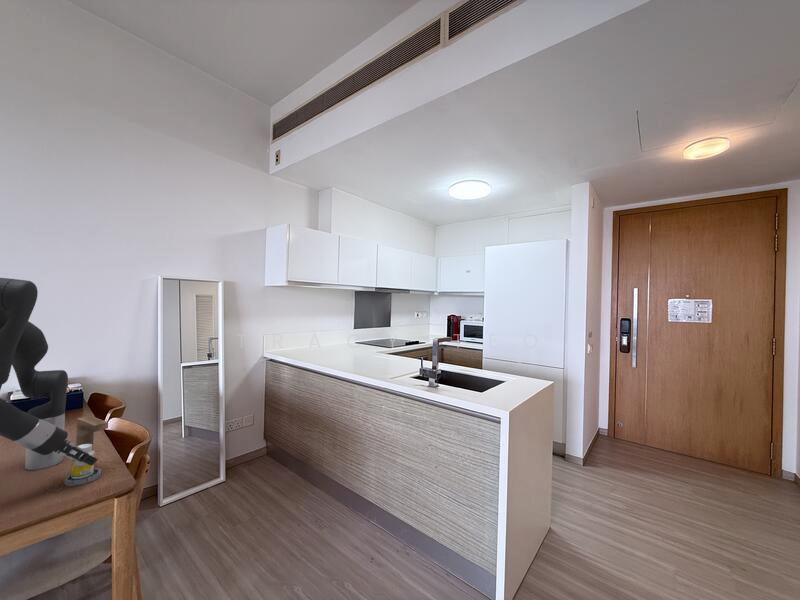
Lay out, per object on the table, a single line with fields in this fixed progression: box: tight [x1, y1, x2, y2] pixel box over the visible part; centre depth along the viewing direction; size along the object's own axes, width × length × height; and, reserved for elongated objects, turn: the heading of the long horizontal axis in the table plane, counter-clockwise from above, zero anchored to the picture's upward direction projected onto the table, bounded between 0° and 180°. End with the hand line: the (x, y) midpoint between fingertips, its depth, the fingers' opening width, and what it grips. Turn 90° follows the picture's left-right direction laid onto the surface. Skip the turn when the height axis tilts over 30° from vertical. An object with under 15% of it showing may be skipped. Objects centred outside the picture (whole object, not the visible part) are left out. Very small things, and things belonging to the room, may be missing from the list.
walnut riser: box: [75, 415, 109, 451], centre depth 111 cm, size 4×13×18 cm, turn 63°
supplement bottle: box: [70, 444, 96, 479], centre depth 108 cm, size 5×5×10 cm
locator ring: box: [64, 467, 102, 487], centre depth 108 cm, size 8×8×2 cm
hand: (90, 460), depth 109 cm, fingers closed on supplement bottle, 5 cm apart
